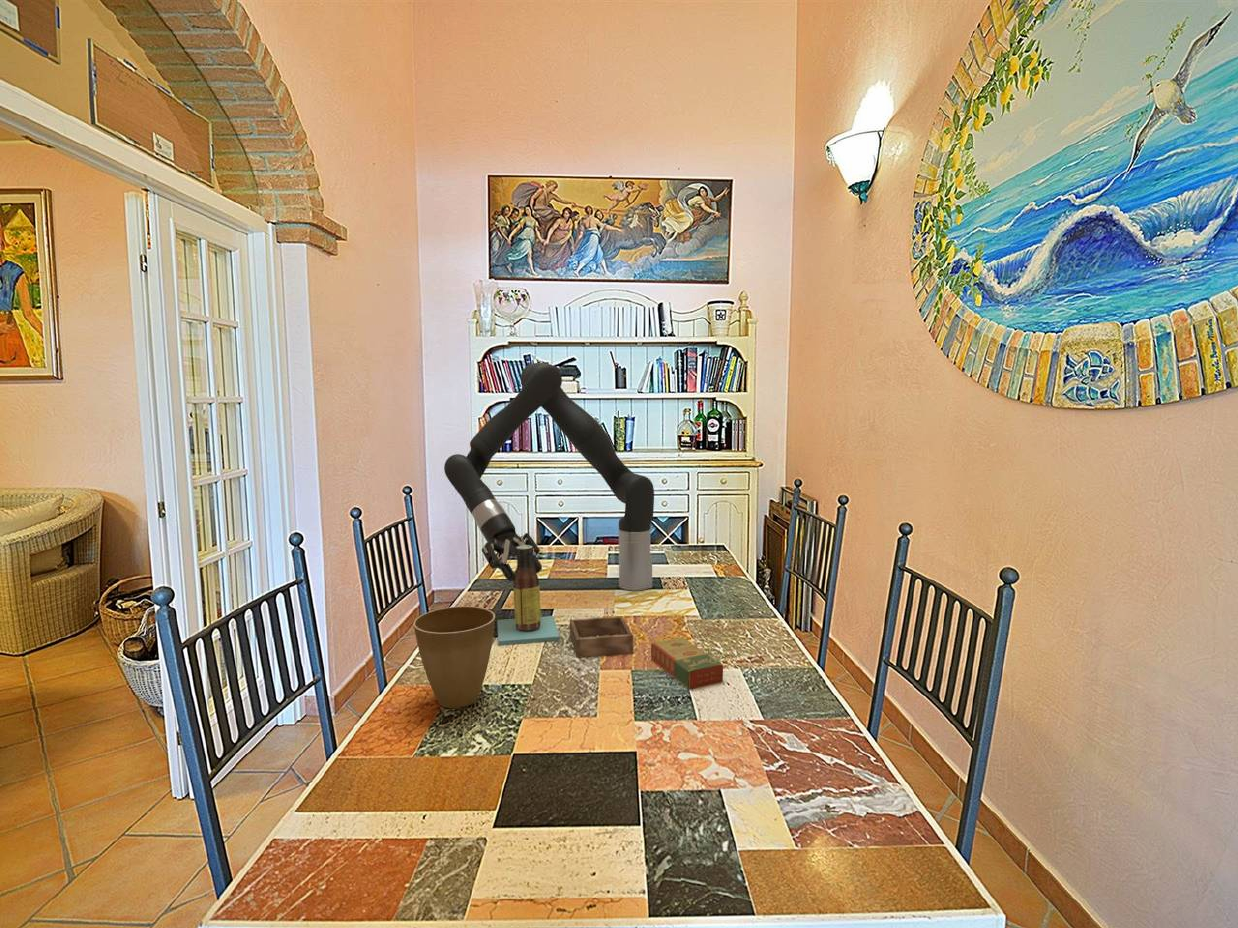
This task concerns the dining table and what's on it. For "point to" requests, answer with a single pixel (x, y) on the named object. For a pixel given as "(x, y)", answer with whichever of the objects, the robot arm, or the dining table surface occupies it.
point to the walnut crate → (604, 643)
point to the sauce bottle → (526, 591)
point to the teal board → (527, 632)
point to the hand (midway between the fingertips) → (526, 575)
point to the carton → (686, 663)
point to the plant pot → (455, 651)
